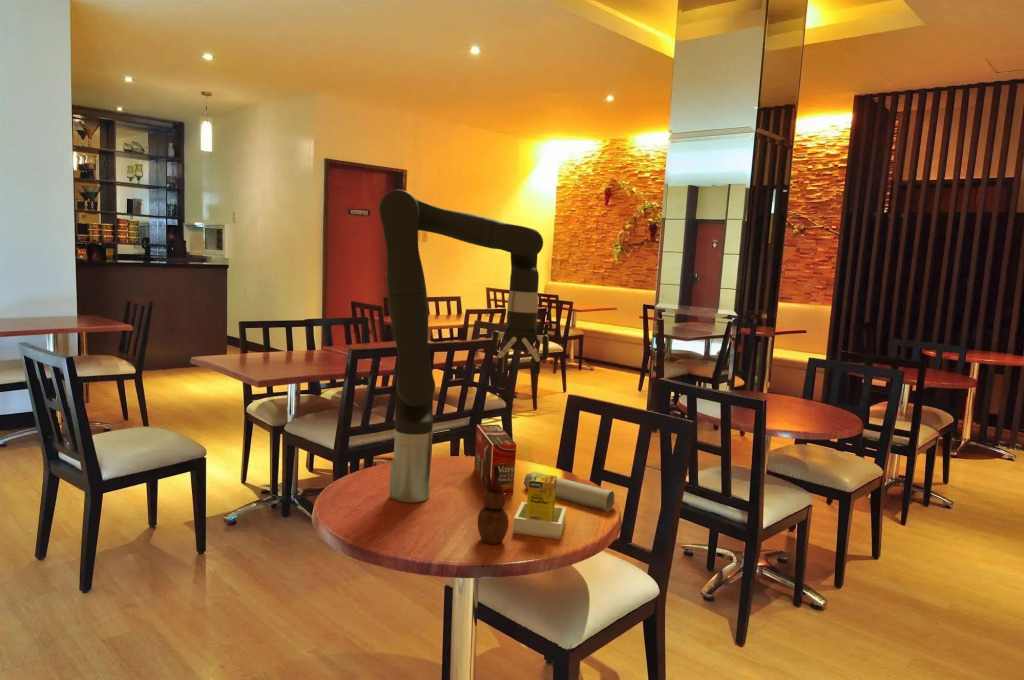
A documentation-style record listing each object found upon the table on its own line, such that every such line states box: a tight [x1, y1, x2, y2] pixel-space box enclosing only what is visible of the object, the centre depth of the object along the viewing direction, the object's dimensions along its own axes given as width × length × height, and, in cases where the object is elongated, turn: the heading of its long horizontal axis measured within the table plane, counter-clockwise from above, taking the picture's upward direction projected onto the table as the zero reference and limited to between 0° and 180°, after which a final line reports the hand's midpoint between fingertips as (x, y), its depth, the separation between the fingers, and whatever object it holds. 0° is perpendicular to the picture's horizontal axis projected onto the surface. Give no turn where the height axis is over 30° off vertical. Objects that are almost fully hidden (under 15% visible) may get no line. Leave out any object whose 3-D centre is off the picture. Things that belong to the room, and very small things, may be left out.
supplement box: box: [526, 473, 558, 522], centre depth 159 cm, size 6×6×11 cm
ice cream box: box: [473, 424, 517, 494], centre depth 188 cm, size 20×6×13 cm, turn 14°
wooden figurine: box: [477, 472, 509, 545], centre depth 149 cm, size 7×6×15 cm
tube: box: [523, 471, 616, 513], centre depth 179 cm, size 5×5×25 cm
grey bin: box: [512, 501, 567, 540], centre depth 159 cm, size 11×11×4 cm
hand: (518, 374), depth 173 cm, fingers open, 8 cm apart
